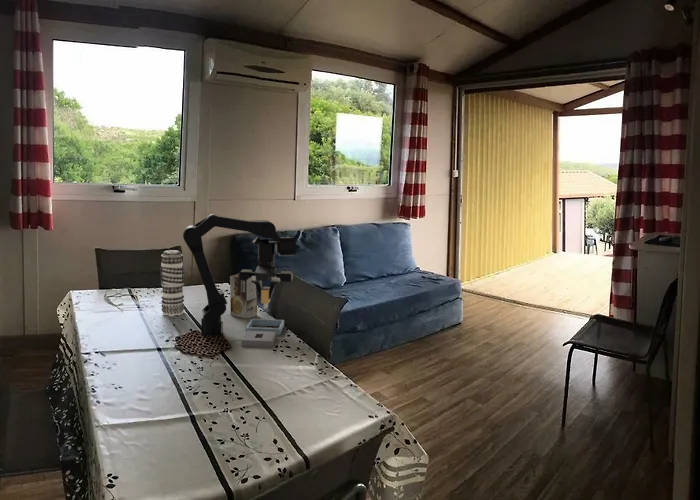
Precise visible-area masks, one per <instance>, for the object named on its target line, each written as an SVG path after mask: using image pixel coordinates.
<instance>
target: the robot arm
mask: <svg viewBox="0 0 700 500" xmlns="http://www.w3.org/2000/svg"><path fill="white" fill-rule="evenodd" d="M215 227H217V228H222V229H229V230H236V231H242V232H248V233H250V234H253V235H256V238H255V239H253V240H252V243H253V244H254V245H257V265H256V269H255V271H254V272H253V270H252V269H246V268H245V269H244V268H243V269H241V271H239V272H238V273H237V274H238V280H248V279H249V277H251V279H252V280H251V282H252V283H254V284H255V285H256V287H257V293H258V294H259V298H260V299H261V290H262V288H263V281H265V282H269V283H270V284H269V287H270V292H269V299H270V300H271V298H272V297H273V296H272V295H273V293H274V290H275V287H276V285H277V284H280V282H283V283H287V282H288V283H292V281H293V279H294V272H293V271H292V270H281V272H280V273H279V272H278V273H277V267H276V266H275V253H276V254H278V256H279V257H289V256H290V257H291V256H292V257H294V256H296V255H297V247H296V240H295V239H296V238H295V237H294V236H287V237H286V236H285V237H284V236H281V237H280V235H279V234H278V233H277V229H276V225H275V224H274V223H273V222H271V221H270V220H268V219H267V220H266V219H257V220H254V219H252V220H246V219H243V218H242V219H240V218H234V217H229V216H223V215H218V214H215V213H210V214H209V215H207V216H206V217H204V218H203V219H201V220H200V221H198V222H196V223H195V224H193V225H188V226H186V227H185V228H184V229H183V231H182V237H183V238H182V239H183V240H184V242H185V244H186V245H187V248H188V250H189V251H190V252H191V254H192V256H193V258H194V261H195V263H196V264H195V265H196V266H197V269H198V272H199V276H200V278H201V281H202V283H203V286H204V289H205V291H206V293H205V294H206V298H207V305H205V306H204V307H203V308H202V310H201V312H202V318H201V319H200V321H201V323H200V324H201V326H200V328H201V329H200V331H201V334H200V335H199V337H200V336H203V337H204V336H210V337H213V336H219V335H220V336H221V335H222V334H223V333H224V322H223V321H222V315H224V314H225V313H226V310H227V305H228V301H227V298H226V297H225V293H224V290H223V289H220V290H219V289H218V287H217V286H216V282H215V280H214V277H213V274H212V272H211V269H210V266H209V262H208V260H207V257H206V254H205V251H204V246H203V240H202V237H203V236H204V235H206V234H207V233H208V232H210V231H212V229H213V228H215ZM260 237H261V238H260ZM269 239H271V240H269ZM272 240H273V241H272Z"/></svg>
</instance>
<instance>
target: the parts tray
mask: <svg viewBox="0 0 700 500" xmlns="http://www.w3.org/2000/svg"><path fill="white" fill-rule="evenodd" d="M254 326H263V327H254ZM264 326H265V327H264ZM268 326H269V327H268ZM273 327H275V328H273ZM276 327H278V328H276ZM284 327H285V319H265V318H264V319H263V318H259V319H258V318H251V319H250V321H249V322H248V324H247V326H246V327H245V333H246V332H247V331H269V332H276V336H281V334H282V331H283V329H284Z"/></svg>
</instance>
